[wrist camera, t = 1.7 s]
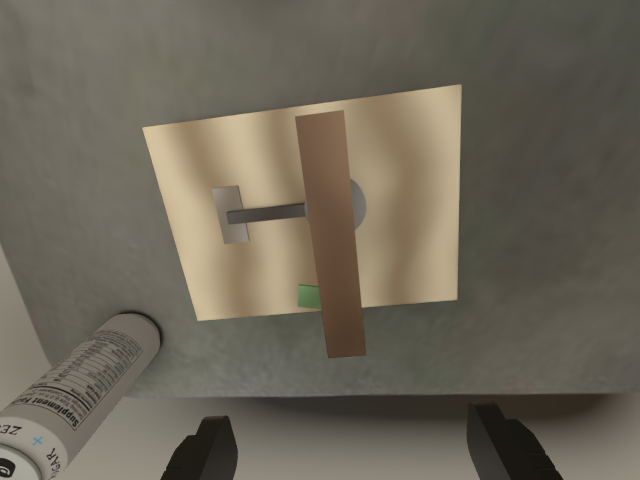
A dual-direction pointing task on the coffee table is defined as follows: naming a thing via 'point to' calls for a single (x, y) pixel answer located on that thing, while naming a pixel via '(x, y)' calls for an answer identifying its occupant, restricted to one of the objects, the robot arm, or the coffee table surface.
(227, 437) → the robot arm
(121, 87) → the coffee table surface
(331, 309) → the peg key
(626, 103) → the coffee table surface
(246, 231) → the wooden lever base
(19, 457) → the energy drink can
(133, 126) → the coffee table surface
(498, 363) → the coffee table surface
